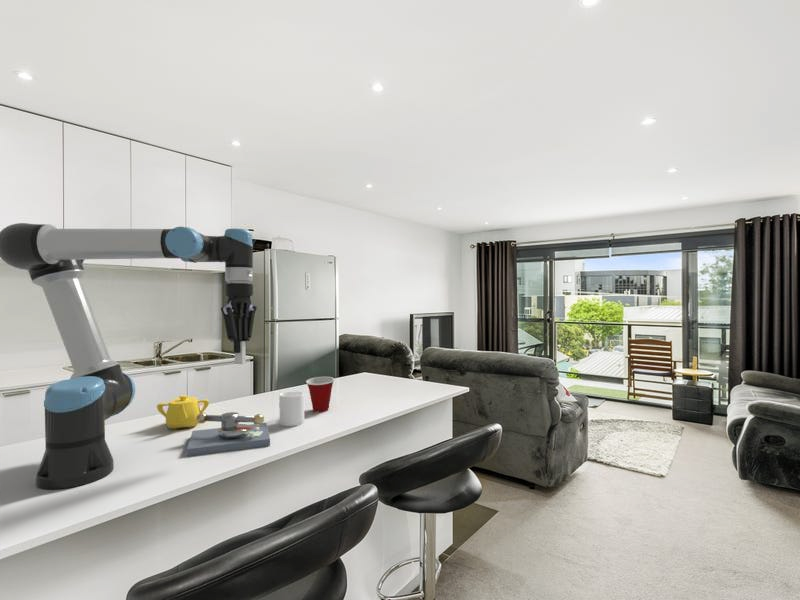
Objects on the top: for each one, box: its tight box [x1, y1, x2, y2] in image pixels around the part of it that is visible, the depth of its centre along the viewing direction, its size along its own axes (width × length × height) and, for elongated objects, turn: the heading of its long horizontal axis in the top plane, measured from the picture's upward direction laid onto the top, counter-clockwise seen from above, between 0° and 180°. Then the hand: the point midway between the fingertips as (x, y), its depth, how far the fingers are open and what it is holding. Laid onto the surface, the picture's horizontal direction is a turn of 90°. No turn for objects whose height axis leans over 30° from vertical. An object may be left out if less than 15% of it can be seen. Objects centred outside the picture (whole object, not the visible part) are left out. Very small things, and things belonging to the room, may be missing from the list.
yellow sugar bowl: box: [156, 394, 210, 430], centre depth 145 cm, size 14×13×10 cm
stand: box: [186, 422, 271, 457], centre depth 129 cm, size 22×17×3 cm
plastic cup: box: [305, 376, 335, 413], centre depth 163 cm, size 11×11×12 cm
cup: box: [278, 390, 305, 427], centre depth 148 cm, size 8×12×10 cm
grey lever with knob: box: [196, 411, 265, 438], centre depth 128 cm, size 21×9×6 cm, turn 84°
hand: (240, 363), depth 123 cm, fingers closed
